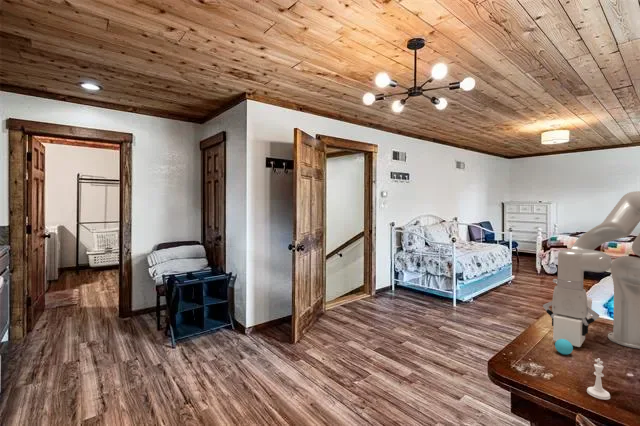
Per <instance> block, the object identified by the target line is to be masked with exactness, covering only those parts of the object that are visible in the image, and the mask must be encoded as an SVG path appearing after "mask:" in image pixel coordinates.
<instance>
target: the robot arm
mask: <svg viewBox="0 0 640 426" xmlns="http://www.w3.org/2000/svg"><path fill="white" fill-rule="evenodd" d="M638 224H640V190H639V191H638V190H637V191H630V192H627V193H625V194H624V195H623V196H622V197H621V198H620V199H619V201H618V202H617V204H616V205H615V206H614V207H613V208H612V210H611V211H610V213H609V214H608V215H607V216H606V217H605V219H604V220H603V221H602V222H601V223H599V224H598V225H596V226H595V227H592V228H591V229H589V230H588V231H586V232H584V233H583V234H581V235H580V236H579V237H578V238H577V239H576V240H575V242H574V243H573V245H571V247H570V248H569V249H568V250H567V249H563V250H560V251H558V254H557V278H553V279H552V282H553V283H554V284H556V285H555V286H554V288H553V294H552V299H551V301H548V302H547V303H544V304H542V307H543V309H544V310H545V312H546V313H547V314H548V315H549V316H550V318H551V327H553V319H554V316H555V315H556V314H560V315H564V316H569V317H574V318H580V319H582V322H583V325H582V335H583V336H585V337H586V334H587V335H588V333H589V325H591V324H592V323H594V322H595V321H597V319H598V318H600V314H598V313H597V312H596V311H595V310H593V309H592V308H591V309H590V308H589V307H588V303H587V297H588V295H587V291H586V289H585V288H584V273H585V272H592V273H593V272H594V273H603V272H606V271H609V270H610V275H611V279H612V282H613V283H612V284H613V323H612V324H613V331H611V332H609V333H608V334H607V337H608V340H610V341H611V342H613V343H615V344H618V345H621V346H625V347H628V348H633V349H639V350H640V232H639V233H638V235H637V236H636V237H635V238H634V240H633V242H632V244H631V250H632V252H633V253H634V254H635V255H636V256H631V255H630V256H629V255H624V256H618V257H616V258H615V259H614V260H613V259H612V258H611V256H610V255H608V253H606V252H603V251H600V250H595V249H597V248H598V247H600V246H601V245H603V244H606V243H608V242H612V241H616V240H620V239H623V238H626V237H628V236H630V235H631V234H632V232H633V231H634V230H635V229H636V227H637V225H638ZM637 256H638V257H637ZM550 307H551V309H550ZM588 312H589V313H590V314H591V315H592V316H590V319H587V317H586V316H587V314H588Z"/></svg>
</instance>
